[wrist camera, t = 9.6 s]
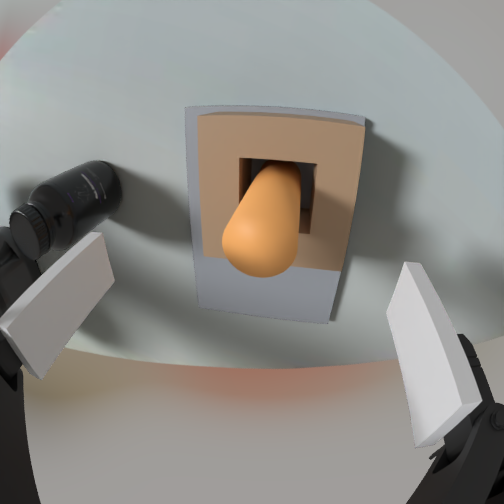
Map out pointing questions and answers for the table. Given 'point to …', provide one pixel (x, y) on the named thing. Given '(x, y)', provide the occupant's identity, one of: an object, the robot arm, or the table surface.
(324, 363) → the table surface
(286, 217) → the peg
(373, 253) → the table surface
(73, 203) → the supplement bottle
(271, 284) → the socket board
